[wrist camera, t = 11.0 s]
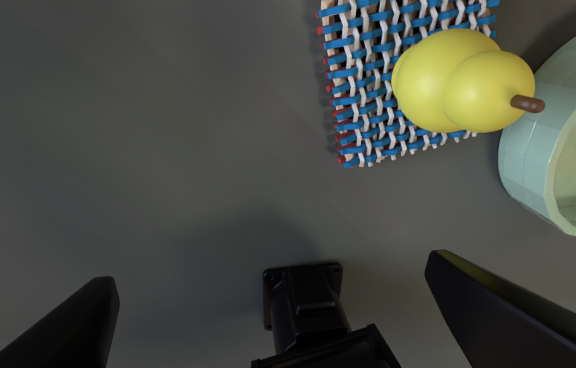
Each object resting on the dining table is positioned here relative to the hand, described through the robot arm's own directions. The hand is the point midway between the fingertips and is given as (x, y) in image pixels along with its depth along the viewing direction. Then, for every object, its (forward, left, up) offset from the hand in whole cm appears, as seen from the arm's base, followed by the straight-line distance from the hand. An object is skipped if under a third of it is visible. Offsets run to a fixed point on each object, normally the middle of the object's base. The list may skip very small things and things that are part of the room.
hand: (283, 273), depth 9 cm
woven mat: (+4, -10, -13) cm, 17 cm away
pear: (+4, -10, -11) cm, 15 cm away
